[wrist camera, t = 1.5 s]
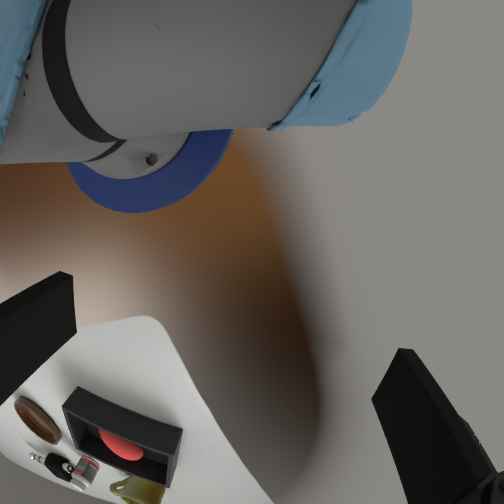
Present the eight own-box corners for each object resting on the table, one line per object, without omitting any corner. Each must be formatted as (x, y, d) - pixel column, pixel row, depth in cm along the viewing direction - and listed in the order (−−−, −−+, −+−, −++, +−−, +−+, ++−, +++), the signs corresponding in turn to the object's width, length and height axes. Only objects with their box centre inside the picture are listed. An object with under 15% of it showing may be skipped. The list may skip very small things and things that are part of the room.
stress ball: (130, 415, 38) (101, 428, 33) (153, 457, 37) (127, 472, 31) (118, 413, 41) (91, 425, 35) (140, 452, 39) (115, 466, 34)
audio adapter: (83, 490, 44) (35, 468, 47) (89, 478, 50) (41, 459, 52) (61, 470, 42) (16, 448, 45) (69, 457, 47) (23, 438, 50)
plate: (13, 386, 41) (7, 392, 39) (55, 415, 41) (50, 422, 39) (27, 420, 45) (23, 425, 42) (67, 446, 45) (63, 452, 42)
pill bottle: (88, 455, 44) (73, 481, 35) (103, 467, 45) (90, 494, 36) (78, 455, 45) (63, 480, 36) (93, 467, 46) (80, 492, 37)
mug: (171, 487, 41) (151, 519, 33) (170, 490, 47) (153, 518, 39) (122, 459, 43) (101, 489, 35) (128, 466, 49) (109, 492, 41)
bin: (77, 386, 37) (61, 406, 31) (182, 429, 37) (174, 455, 32) (87, 430, 41) (76, 448, 35) (176, 466, 41) (169, 488, 35)
